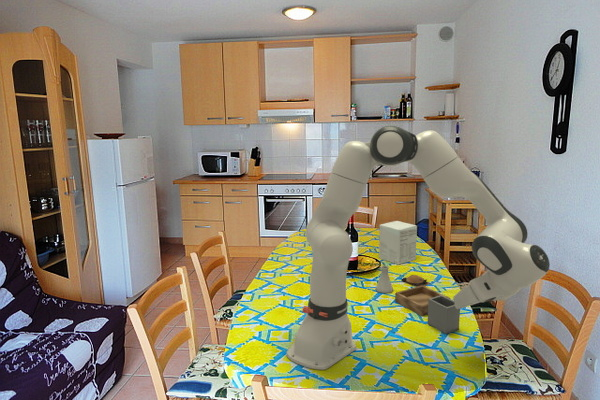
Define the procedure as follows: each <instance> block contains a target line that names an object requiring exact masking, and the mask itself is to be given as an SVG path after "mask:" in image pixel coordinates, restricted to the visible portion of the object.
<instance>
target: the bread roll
mask: <svg viewBox="0 0 600 400" xmlns="http://www.w3.org/2000/svg"><path fill="white" fill-rule="evenodd" d="M401 282H402V283H405V284H407V285H410V286H412V287H418V286H421V285H423V286H425V287H427V286H429V285H431V282H430V281H428V279H425V278H423V277H422V276H420V275H417V274H411V275H409V276H407V277H403V278H401Z"/></svg>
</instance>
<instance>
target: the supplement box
mask: <svg viewBox="0 0 600 400" xmlns="http://www.w3.org/2000/svg"><path fill="white" fill-rule="evenodd" d="M417 232H418V225H415V224H412V223H408V222H403V221H400V220H394V221H390V222H386V223H385V222H384V223H382V224H379V237H378V238H379V239H378V241H379V244H378V246H379V248H378V251H379V252H378V258H379V259H381V260H384V261H387V262H389V263H393V264H395V265H402V264H406V263H408V262H412V261H414V260H415V261H416V259H417V237H418V235H417V234H418V233H417Z"/></svg>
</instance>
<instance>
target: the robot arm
mask: <svg viewBox="0 0 600 400" xmlns="http://www.w3.org/2000/svg"><path fill="white" fill-rule="evenodd" d="M405 162H406V163H409V164H411V165H412V166H413V167H414V168H415V169H416V170H417V171H418V173H419V174H420V176H421V178H422V180H424V182H425V184H426V185H427V186H428V188H429V189H430V190H431V191H432V192H433V193H434V194H436V195H438V197H443V198H455V197H456V198H457V197H460V198H463V199H466V200H469V201H470V202H471V204H472V205H473V206H474V207H475V208H476V209H477V211H478V212H479V213H480V215H482V217H483V218H484V220H485V221H486V226H487V227H486V228H484V230H482V231H481V232H480V233H479V234H478V235H477V237H475V238H474V239H473V241H472V243H471V252H472V254H473V256H474V257H475V260H477V261H478V262H479V263H480V264H481V265H482V266H483V267H484V268H486V269H487V270H486V271H484V272H483V273H482V274H480V275H479V276H477V277H474V278H472V279H471V280H470V281H469V282H468V285H465V286H464V287H463V288H462V289H460V291H458V292H457V293H456V294H455V295H453V297H452V300H453V301H454V302H455V304H454V305H455V307H456V309H460V310H461V309H464V308H467V307H470V306H473V305H476V304H479V303H486V302H492V301H505V300H507V299H509V298H510V297H512V296H514V295H516V294H517V293H518V292H520V291H521V290H522V289H524V288H528V287H530V286H532V285H533V284H535V283H536V282H538V281H539V280H541V279H542V278H543V277H544V276H546V275H547V274H548V272H549V270H550V265H551V263H550V259H549V256H548V255H547V253H546V251H545V250H544V249H543V247H540V246H539V245H537V244H530V243H529V244H528V243H526V241H527V238H528V229H527V227H526V224H525V223H524V222H523V221H522V220H521V219H520V218H519V217H518V216H516V215H515V214H513V212H511V211H509V210H508V208H506V206H504V204H503V203H502V202H501V201H500V200H499V198H498V197H497V195H495V194H494V193H493V191H492V190H491V188H490V187H488V185H487V184H486V183H485V182H484V181H483V180H482V179H481V177H479V176H478V175H477V174H475V173H474V172H472V170H470V169H469V168H468V166H467V165H465V163H464V162H463V161H462V159H461V157H459V155H458V154H457V153H456V151H455V149H454V148H453V147H452V146H451V144H449V143H448V141H447V140H446V139H445V138H444V137H443V136H442V135H441V134H440V133H439V132H437V131H436V130H432V129H431V130H424V131H422V132H419V133H418V134H414V133H413V132H412V133H411V132H410V131H408V130H405V129H404V128H402V127H400V126H397V125H386V126H382V127H380V128H379V129H378V130H376V131H375V132H374V134H373V135H372V137H371V140H369V141H367V142H363V141H359V140H352V141H351V140H350V141H348V142H346V143H345V144H344V145H343V146H342V148H341V150H340V152H339V153H338V155H337V158H336V160H335V161H334V165H333V166H332V168H331V172H330V175H329V177H328V180H327V184H326V186H325V190H324V192H323V194H322V197H321V199H320V202H319V203H318V206H317V207H316V208H315V211H314V213H313V214H312V217H311V218H310V220H309V221H308V223H307V225H306V226H305V238H306V239H305V240H306V241H307V243H308V245H309V246H310V249H311V252H312V264H311V271H310V274H309V296H310V297H309V300H308V303H307V306H306V305H304V306H303V307H302V313H304V314H306V315H305V317H304V318H303V320H302V322H301V324H300V325H299V327H298V329H297V332H296V333H295V335H294V342H293V343H292V344H291V346H290V347H289V348H288V349H287V351H286V357H287V358H288V359H289V360H290V361H292V362H293V363H295V364H297V365H300V366H301V367H305V368H307V369H308V368H309V369H312V370H324V371H325V370H327V369H328V368H330V367H332V366H334V364H336V363H338V362H340V361H341V360H342V359H344V358H345V357H347V356H348V355H350V354H352V353H353V352H354V351H356V349H357V345H356V344H355V342H354V341H353V332H352V322H351V320H350V318H349V316H348V313H347V312H348V308H349V307H348V306H349V303H348V302H349V301H348V298H347V273H348V267H349V263H350V259H351V258H352V255H353V251H354V250H353V249H354V246H353V243H352V242H353V241H352V240H351V237H350V235H349V233H348V232H347V231H346V226H347V224H348V223H349V221H350V219H351V218H352V217H353V215H354V214H355V213H356V212H357V210H359V206H360V204H361V201H362V199H363V197H364V193H365V191H366V188H367V184H368V181H369V179H370V177H371V174H372V171H373V170H374V169H375V168H376V166H377V167H378V166H381V167H382V166H383V167H384V166H385V167H396V166H399V165H400V164H403V163H405Z"/></svg>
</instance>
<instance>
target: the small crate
mask: <svg viewBox="0 0 600 400" xmlns="http://www.w3.org/2000/svg"><path fill="white" fill-rule="evenodd" d="M449 298H450V297H449ZM449 298H446V297H444V296H442V295H440V296H437V297H433V298H430V299H428V314H427V321H426V322H427V323H426V324H427V325H429V326H431V327H433V328H434V329H436V330H437V331H439V332H442V333H443V334H445V335H448V334H451V333H453V332H456V331H458V330H460V319H461V318H460V315H461V309H456V307H455V305H454V304H455V302H454V300H453V299H449Z"/></svg>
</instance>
